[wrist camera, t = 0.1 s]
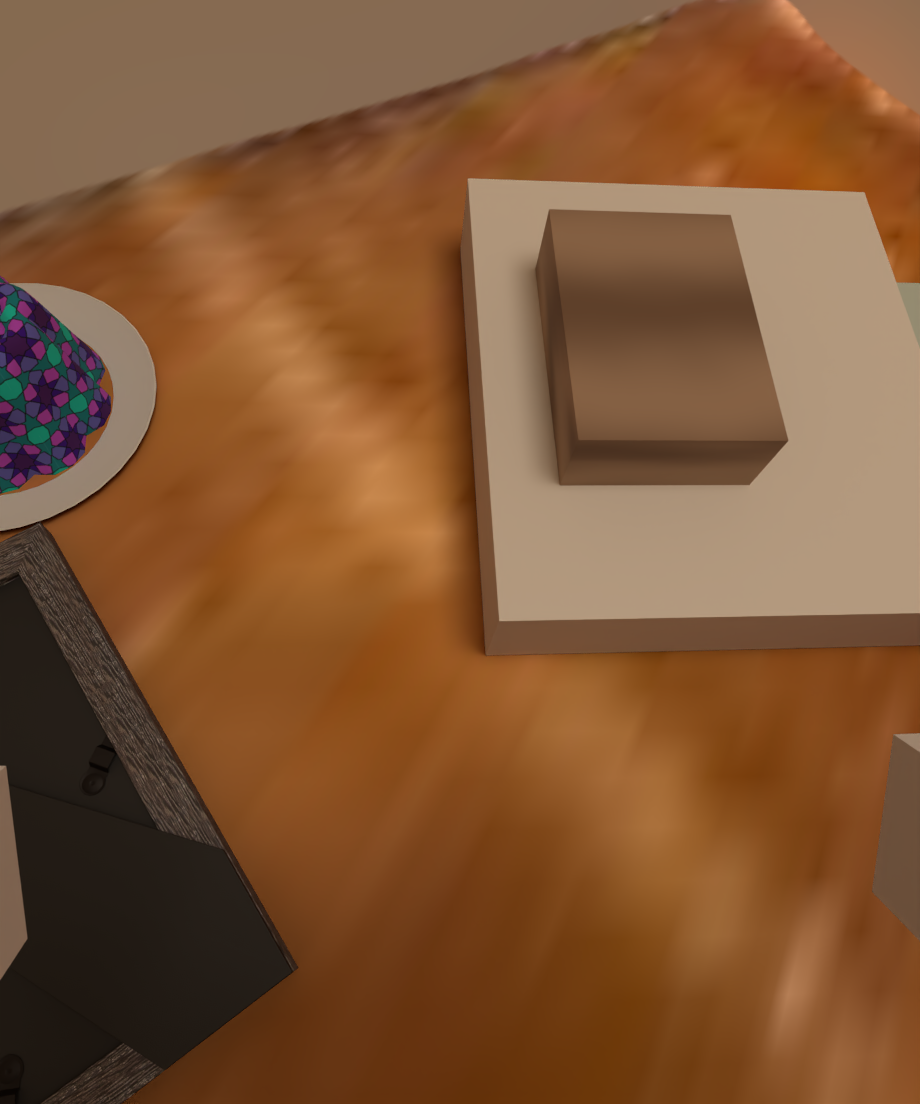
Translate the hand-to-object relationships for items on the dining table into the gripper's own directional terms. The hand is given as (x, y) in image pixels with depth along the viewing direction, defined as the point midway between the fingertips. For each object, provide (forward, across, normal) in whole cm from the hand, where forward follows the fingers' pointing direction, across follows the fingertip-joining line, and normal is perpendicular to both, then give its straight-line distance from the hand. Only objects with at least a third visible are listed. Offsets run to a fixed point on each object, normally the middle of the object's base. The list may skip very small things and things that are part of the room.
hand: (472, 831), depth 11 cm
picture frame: (+14, +15, +9) cm, 22 cm away
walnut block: (+19, -8, -7) cm, 22 cm away
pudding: (+24, +17, -5) cm, 29 cm away
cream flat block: (+22, -11, -5) cm, 26 cm away
